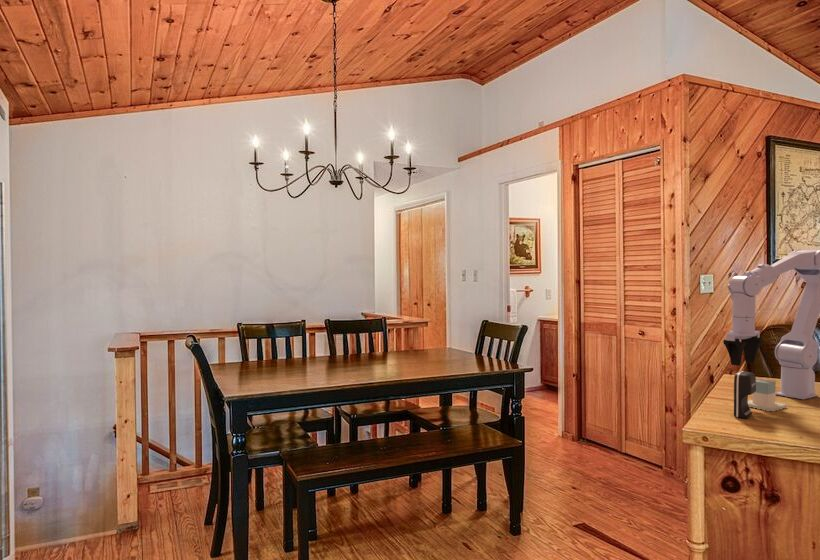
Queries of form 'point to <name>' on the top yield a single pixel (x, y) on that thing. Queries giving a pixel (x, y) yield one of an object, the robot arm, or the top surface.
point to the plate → (767, 408)
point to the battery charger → (743, 393)
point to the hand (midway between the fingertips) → (742, 363)
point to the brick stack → (764, 392)
